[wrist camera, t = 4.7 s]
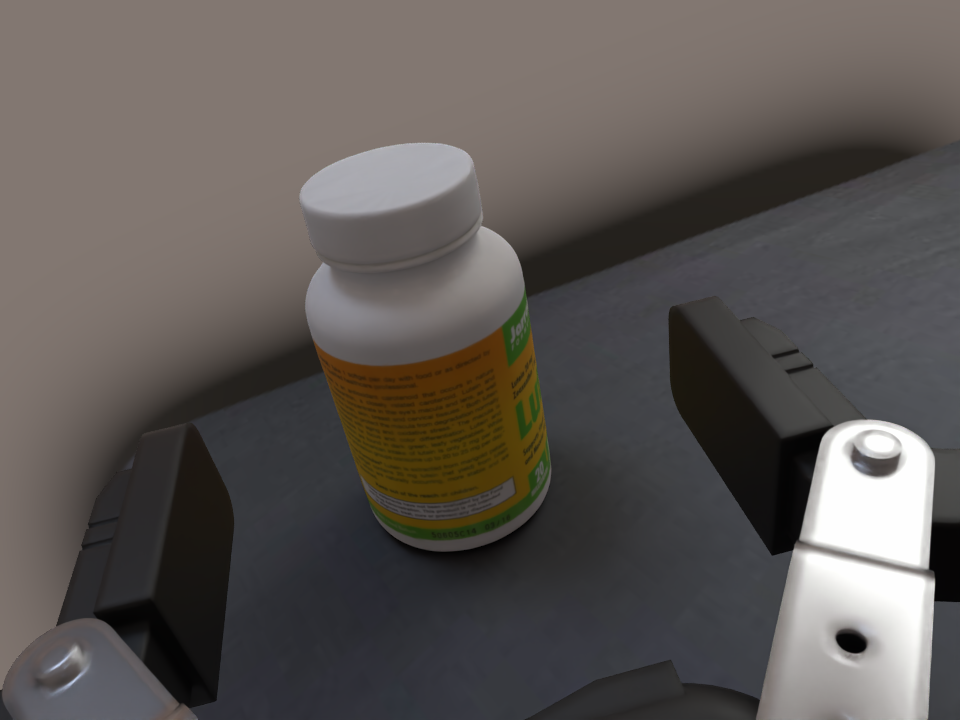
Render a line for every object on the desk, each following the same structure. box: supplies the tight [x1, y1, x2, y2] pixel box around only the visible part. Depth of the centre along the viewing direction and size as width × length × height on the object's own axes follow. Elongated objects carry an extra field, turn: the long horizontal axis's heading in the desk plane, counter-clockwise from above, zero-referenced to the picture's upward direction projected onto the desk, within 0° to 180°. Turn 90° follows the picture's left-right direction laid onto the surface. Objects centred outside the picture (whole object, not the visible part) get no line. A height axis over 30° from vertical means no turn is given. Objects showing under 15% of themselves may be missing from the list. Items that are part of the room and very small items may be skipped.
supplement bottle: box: [299, 143, 551, 552], centre depth 20 cm, size 5×5×10 cm
